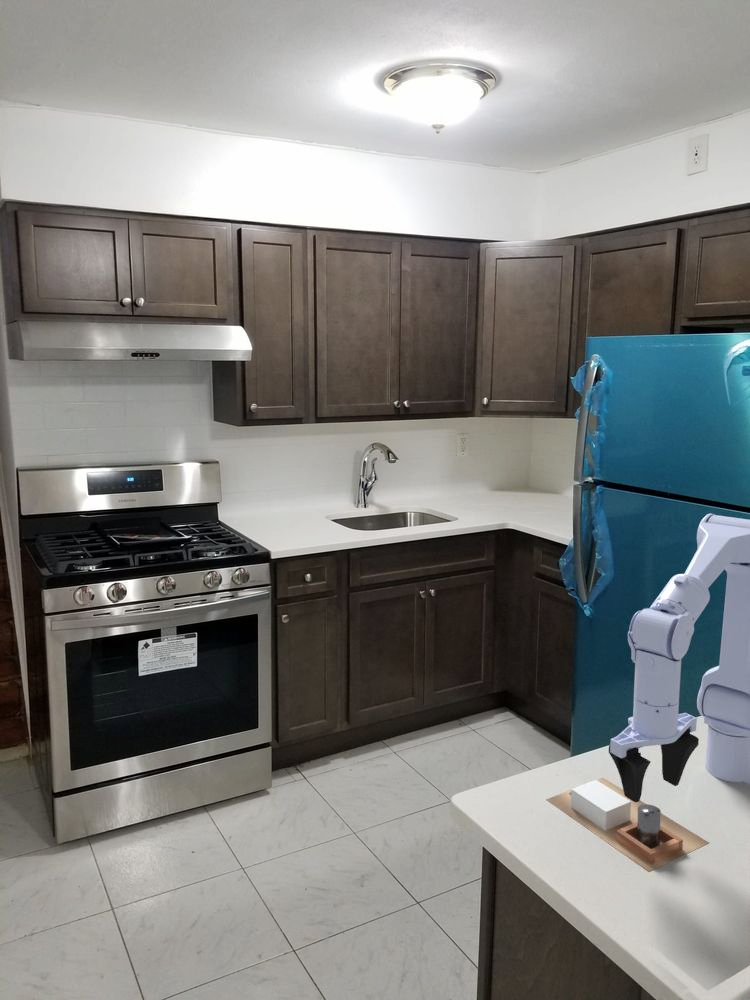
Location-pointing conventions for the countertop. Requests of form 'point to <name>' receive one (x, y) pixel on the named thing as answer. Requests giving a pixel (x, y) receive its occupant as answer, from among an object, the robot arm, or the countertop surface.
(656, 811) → the grey metal cylinder
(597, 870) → the countertop surface
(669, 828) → the board
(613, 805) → the plain white cuboid
